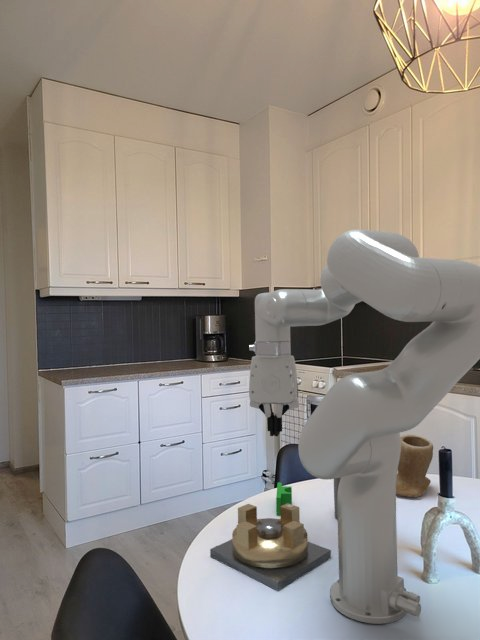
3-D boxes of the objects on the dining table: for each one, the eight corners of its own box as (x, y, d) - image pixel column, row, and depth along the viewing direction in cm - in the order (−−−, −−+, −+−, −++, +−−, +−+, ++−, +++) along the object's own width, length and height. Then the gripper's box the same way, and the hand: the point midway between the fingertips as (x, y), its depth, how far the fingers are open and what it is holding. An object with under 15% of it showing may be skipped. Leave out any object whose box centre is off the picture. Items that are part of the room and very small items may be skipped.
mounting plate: (330, 557, 94) (330, 549, 94) (278, 591, 83) (277, 581, 83) (264, 530, 107) (263, 523, 107) (210, 556, 96) (210, 548, 96)
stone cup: (428, 504, 120) (426, 445, 120) (381, 495, 127) (380, 439, 127) (441, 486, 133) (440, 433, 133) (398, 479, 140) (397, 428, 140)
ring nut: (323, 548, 95) (322, 514, 95) (272, 577, 84) (271, 538, 84) (268, 526, 106) (267, 495, 106) (217, 549, 95) (216, 515, 95)
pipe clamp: (292, 517, 115) (291, 498, 115) (276, 516, 115) (276, 497, 115) (291, 499, 126) (291, 482, 126) (277, 499, 127) (277, 481, 127)
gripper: (235, 351, 101) (237, 437, 101) (305, 350, 97) (307, 440, 97) (243, 349, 108) (245, 429, 108) (309, 348, 104) (311, 432, 104)
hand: (275, 434), depth 102 cm, fingers closed
